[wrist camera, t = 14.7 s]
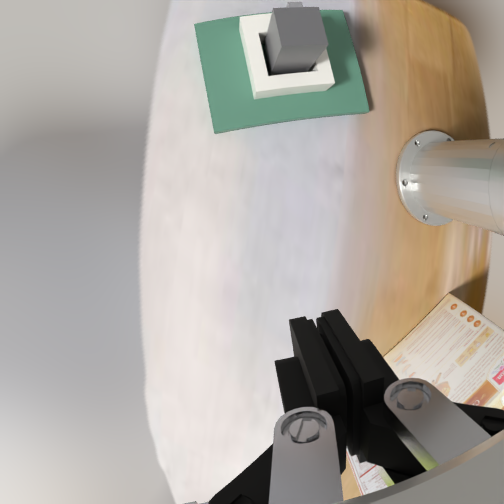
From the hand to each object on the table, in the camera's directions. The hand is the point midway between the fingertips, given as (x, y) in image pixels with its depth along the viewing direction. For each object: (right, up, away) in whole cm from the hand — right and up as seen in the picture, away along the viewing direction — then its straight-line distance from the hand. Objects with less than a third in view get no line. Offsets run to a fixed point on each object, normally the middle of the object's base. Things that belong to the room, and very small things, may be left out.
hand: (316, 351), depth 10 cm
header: (+1, +25, +20) cm, 32 cm away
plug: (+1, +25, +20) cm, 32 cm away
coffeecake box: (+24, -10, +32) cm, 41 cm away
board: (+1, +25, +22) cm, 33 cm away
